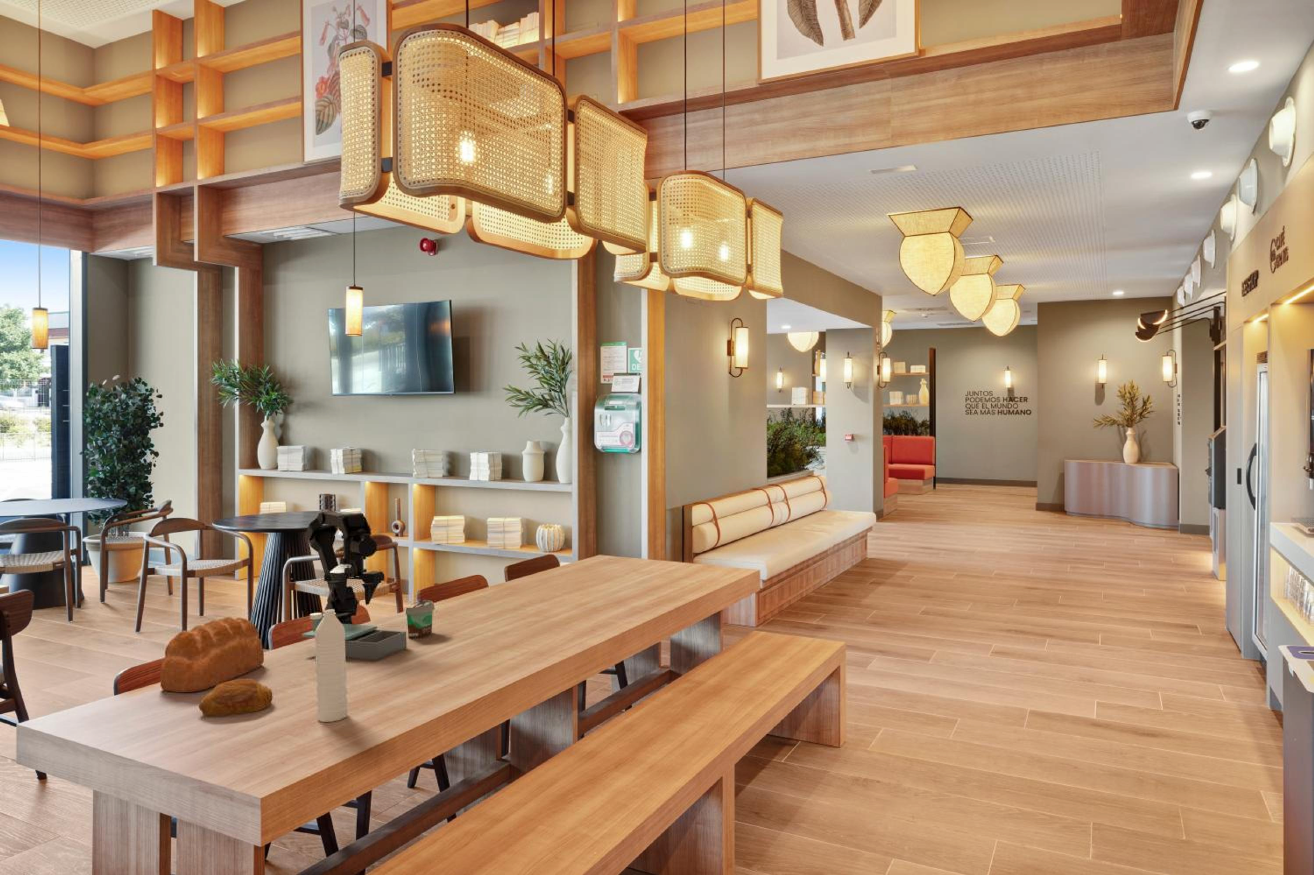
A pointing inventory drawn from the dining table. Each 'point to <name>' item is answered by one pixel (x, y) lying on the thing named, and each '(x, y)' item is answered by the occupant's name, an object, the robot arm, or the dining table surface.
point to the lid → (350, 629)
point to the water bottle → (330, 667)
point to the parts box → (375, 645)
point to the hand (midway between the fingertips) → (355, 603)
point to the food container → (420, 620)
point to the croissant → (236, 698)
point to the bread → (211, 655)
